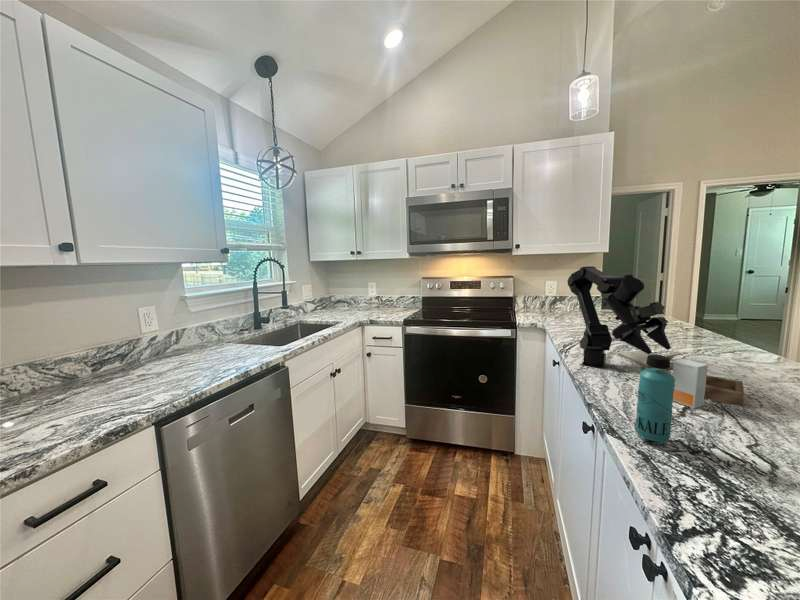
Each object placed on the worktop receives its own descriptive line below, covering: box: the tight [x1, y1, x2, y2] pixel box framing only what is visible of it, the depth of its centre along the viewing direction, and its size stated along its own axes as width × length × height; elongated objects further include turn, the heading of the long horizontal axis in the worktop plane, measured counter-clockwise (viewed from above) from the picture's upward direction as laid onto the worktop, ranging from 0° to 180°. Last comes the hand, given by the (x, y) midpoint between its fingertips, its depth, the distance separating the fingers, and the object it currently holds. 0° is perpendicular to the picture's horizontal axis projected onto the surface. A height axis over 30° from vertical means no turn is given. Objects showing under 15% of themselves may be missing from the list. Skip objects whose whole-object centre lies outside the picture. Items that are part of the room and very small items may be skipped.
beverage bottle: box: [634, 354, 675, 443], centre depth 72 cm, size 6×7×20 cm
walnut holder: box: [704, 375, 745, 407], centre depth 96 cm, size 12×12×4 cm
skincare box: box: [671, 358, 709, 409], centre depth 90 cm, size 6×4×12 cm
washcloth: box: [616, 350, 675, 371], centre depth 125 cm, size 12×18×3 cm, turn 1°
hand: (660, 351), depth 96 cm, fingers open, 9 cm apart
